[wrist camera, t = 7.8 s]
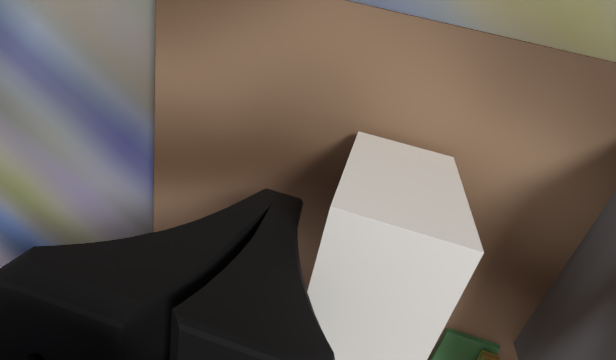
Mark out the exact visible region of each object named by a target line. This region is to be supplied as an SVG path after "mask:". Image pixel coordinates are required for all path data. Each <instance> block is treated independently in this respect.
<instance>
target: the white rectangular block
mask: <svg viewBox="0 0 616 360" xmlns="http://www.w3.org/2000/svg"><path fill="white" fill-rule="evenodd" d="M483 254H484V251H483V248H482V244H481V241H480V238H479V235H478V232H477V229H476V226H475V223H474V219H473V216H472V213H471V210H470V207H469V204H468V201H467V198H466V194H465V191H464V188H463V185H462V182H461V179H460V176H459V173H458V169H457V166H456V163H455V160H454V157H451V156H448V155H444V154H440V153H437V152H433V151H429V150H426V149H422V148H418V147H415V146H411V145H407V144H404V143H400V142H396V141H393V140H389V139H385V138H382V137H378V136H374V135H371V134H367V133H363V132H360V131H358V134H357V136H356V139H355V142H354V144H353V147H352V150H351V152H350V155H349V158H348V160H347V163H346V166H345V168H344V171H343V174H342V177H341V179H340V182H339V185H338V187H337V190H336V193H335V195H334V198H333V201H332V203H331V206H330V210H329V213H328V217H327V221H326V224H325V228H324V232H323V235H322V239H321V243H320V247H319V250H318V254H317V258H316V261H315V265H314V269H313V272H312V276H311V280H310V284H309V287H308V291H307V293H308V296H309V299H310V302H311V305H312V307H313V310H314V313H315V315H316V318H317V320H318V322H319V325H320V327H321V329H322V331H323V333H324V335H325V337H326V339H327V341H328V343H329V345H330V346H331V348H332V350H333V352H334V356H335V360H427V359H428V357H429V355H430V354H431V352H432V350H433V348H434V346H435V344H436V342H437V340H438V338H439V337H440V335H441V333H442V331H443V329H444V327H445V325H446V323H447V322H448V320H449V318H450V316H451V314H452V312H453V310H454V308H455V306H456V305H457V303H458V301H459V299H460V297H461V295H462V293H463V291H464V290H465V288H466V286H467V284H468V282H469V280H470V278H471V276H472V275H473V273H474V271H475V269H476V267H477V265H478V263H479V261H480V259H481V258H482V256H483Z"/></svg>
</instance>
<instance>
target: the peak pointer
mask: <svg viewBox="0 0 616 360" xmlns="http://www.w3.org/2000/svg"><path fill="white" fill-rule="evenodd" d="M476 360H500V359H499V355H498V354H495V353H492V352H489V351H486V350H483V349H482V350H481V352H480V354H479V355H478V357H477V358H476Z"/></svg>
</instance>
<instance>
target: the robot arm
mask: <svg viewBox="0 0 616 360" xmlns="http://www.w3.org/2000/svg"><path fill="white" fill-rule="evenodd" d="M302 207H303V201H302V200H301V199H300V198H297V197H294V196H290V195H287V194H284V193H280V192H277V191H274V190H270V189H267V188H266V189H263V190H261V191H259V192H257V193H255V194H253V195H251V196H249V197H247V198H246V199H244V200H242V201H240V202H238V203H235V204H233V205H231V206H229V207H227V208H225V209H223V210H220V211H218V212H215V213H213V214H210V215H208V216H206V217H203V218H201V219H198V220H195V221H192V222H190V223H187V224H183V225H180V226H177V227H173V228H170V229H166V230H162V231H158V232H153V233H149V234H144V235H140V236H135V237H130V238H124V239H117V240H111V241H103V242H95V243H85V244H72V245H57V246H39V247H33V248H31V249H30V250H28V251H26V252H25V253H23V254H22V255H20V256H19V257H17V258H16V259H14V260H13V261H11V262H10V263H8V264H6V265H5V266H3V267H2V268H0V360H335V356H334V352H333V350H332V348H331V346H330V345H329V343H328V341H327V339H326V337H325V335H324V333H323V331H322V329H321V327H320V325H319V322H318V320H317V318H316V315H315V313H314V310H313V307H312V305H311V302H310V299H309V296H308V293H307V290H306V287H305V283H304V279H303V275H302V270H301V265H300V259H299V250H298V224H299V220H300V215H301V211H302Z"/></svg>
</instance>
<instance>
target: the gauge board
mask: <svg viewBox="0 0 616 360" xmlns="http://www.w3.org/2000/svg"><path fill="white" fill-rule="evenodd" d="M358 131H360V132H363V133H367V134H371V135H374V136H378V137H382V138H385V139H389V140H393V141H396V142H400V143H404V144H407V145H411V146H415V147H418V148H422V149H426V150H429V151H433V152H437V153H440V154H444V155H448V156H451V157H454V160H455V163H456V166H457V169H458V173H459V176H460V179H461V182H462V185H463V188H464V191H465V194H466V198H467V201H468V204H469V207H470V210H471V213H472V216H473V219H474V223H475V226H476V229H477V232H478V235H479V238H480V241H481V244H482V248H483V251H484V254H483V256H482V258H481V259H480V261H479V263H478V265H477V267H476V269H475V271H474V273H473V275H472V276H471V278H470V280H469V282H468V284H467V286H466V288H465V290H464V291H463V293H462V295H461V297H460V299H459V301H458V303H457V305H456V306H455V308H454V310H453V312H452V314H451V316H450V318H449V320H448V322H447V323H446V325H445V327H444V329H443V331H442V333H441V335H440V337H439V338H438V340H437V342H436V344H435V346H434V348H433V350H432V352H431V354H430V355H429V357H428V359H427V360H476V358H477V357H478V355H479V354H480V352H481V350H482V349H483V350H486V351H489V352H492V353H495V354H498V355H499V359H500V360H616V62H612V61H607V60H603V59H599V58H594V57H590V56H586V55H581V54H577V53H573V52H568V51H564V50H560V49H555V48H551V47H547V46H542V45H538V44H534V43H530V42H525V41H521V40H517V39H512V38H508V37H504V36H499V35H495V34H491V33H486V32H482V31H478V30H473V29H469V28H465V27H460V26H456V25H452V24H447V23H443V22H439V21H434V20H430V19H426V18H421V17H417V16H413V15H408V14H404V13H400V12H396V11H391V10H387V9H383V8H378V7H374V6H370V5H365V4H361V3H357V2H352V1H348V0H156V53H155V138H154V222H153V232H158V231H162V230H166V229H170V228H173V227H177V226H180V225H183V224H187V223H190V222H192V221H195V220H198V219H201V218H203V217H206V216H208V215H210V214H213V213H215V212H218V211H220V210H223V209H225V208H227V207H229V206H231V205H233V204H235V203H238V202H240V201H242V200H244V199H246V198H247V197H249V196H251V195H253V194H255V193H257V192H259V191H261V190H263V189H266V188H267V189H270V190H274V191H277V192H280V193H284V194H287V195H290V196H294V197H297V198H300V199H301V200H302V201H303V207H302V211H301V215H300V220H299V224H298V250H299V259H300V265H301V270H302V275H303V279H304V283H305V287H306V290H307V291H308V287H309V284H310V280H311V276H312V272H313V269H314V265H315V261H316V258H317V254H318V250H319V247H320V243H321V239H322V235H323V232H324V228H325V224H326V221H327V217H328V213H329V210H330V206H331V203H332V201H333V198H334V195H335V193H336V190H337V187H338V185H339V182H340V179H341V177H342V174H343V171H344V168H345V166H346V163H347V160H348V158H349V155H350V152H351V150H352V147H353V144H354V142H355V139H356V136H357V134H358Z"/></svg>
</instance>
